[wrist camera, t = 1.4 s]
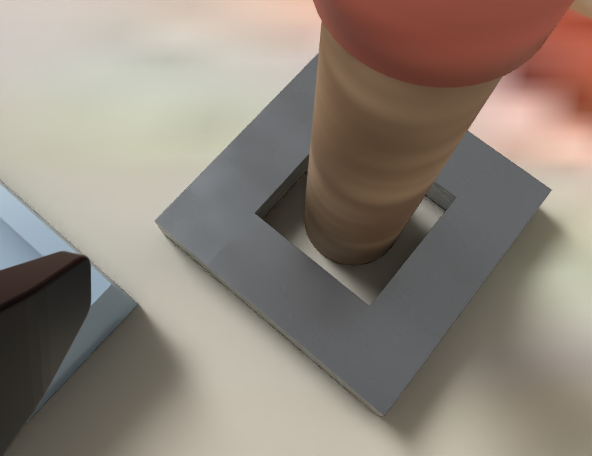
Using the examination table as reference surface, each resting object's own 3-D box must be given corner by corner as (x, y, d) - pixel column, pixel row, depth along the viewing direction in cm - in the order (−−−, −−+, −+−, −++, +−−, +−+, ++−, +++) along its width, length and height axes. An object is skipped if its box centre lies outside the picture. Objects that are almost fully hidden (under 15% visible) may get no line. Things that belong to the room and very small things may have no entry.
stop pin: (429, 211, 23) (661, -108, 9) (361, 295, 22) (502, 83, 8) (342, 147, 24) (426, -240, 10) (273, 224, 23) (253, -86, 9)
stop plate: (535, 203, 23) (552, 189, 22) (377, 415, 21) (384, 416, 19) (331, 58, 25) (334, 37, 24) (162, 233, 23) (154, 221, 21)
